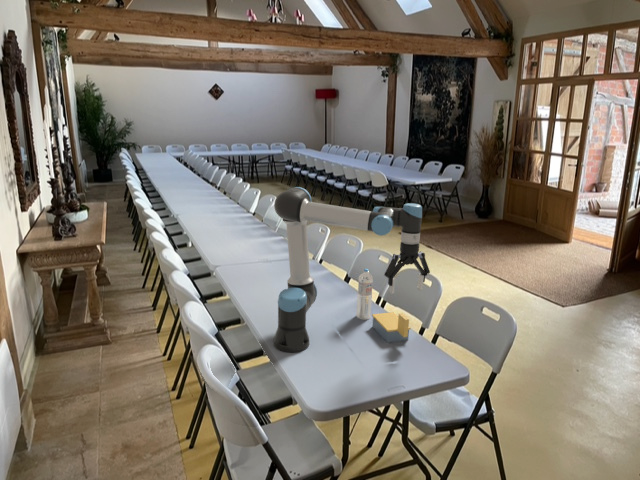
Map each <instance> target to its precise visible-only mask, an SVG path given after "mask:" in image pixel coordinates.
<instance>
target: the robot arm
mask: <svg viewBox="0 0 640 480" xmlns="http://www.w3.org/2000/svg"><path fill="white" fill-rule="evenodd" d="M273 205H274V211H275V213H276V215H277V216H278V217H279V218H281V219H282V222H283V223H284V224H286V236H287V237H286V238H287V248H288V249H287V250H288V260H289V261H288V262H289V274H290V275H289V276H290V277H289V278H288V279H287V281H286V282H287V288H285V289H283V290H281V291H280V293H279V294H278V299H277V305H278V306H277V307H278V308H277V313H278V314H277V329H276V331H275V334H274V336H273V337H274V338H273V346H274V347H275V349H277V350H279V351H281V352H286V353H298V352H302V351H304V350H306V349H308V347H309V346H310V336H309V334H308V330H307V326H306V325H307V323H306V322H307V312H308V311H309V309H310V308H311V307H312V305H313V304H314V303H315V301H316V299H317V296H318V289H317V286H316V284H315V281H314V278H313V276H311V273H310V272H311V271H310V259H309V258H310V255H309V242H308V226H307V224H308V222H311V223H312V222H314V223H318V224H325V225H330V226H337V227H343V228H348V229H349V228H350V229H355V230H360V231H361V230H362V231H366V232H372V233H374V234H376V235H377V236H386V235H388V234H389V233H390V232H391V231H392V229H393V228H394V227H395V228H396V227H397V228H401V234H400V246H399V248H400V249H399V251H400V253H399V254H396V253H393V254H392V258H391V260H390V262H389V263H388V267H387V268H386V270H385V272H384V275H383V276H384V277H385V278H388V281H387V284H388V287H389V288H388V289H389V290H388V293H390V294H391V295H394V294H395V286H396V285H395V284H396V278H395V277H396V275H397V274H398V273H399V272H400V270H401V269H402V268H403V267H404V266H408V265H414V266H415V268H416V269H417V270H418V272H419V274H418V276H417V277H418V278H417V279H418V281H417V290H419V291H423V289H424V288H423V287H424V283H425V281H426V277H427V276H428V275H429V274H430V273H431V270H430V268H429V265H428V262H427V260H426V254H425V253H424V252H423V251H420V240H421V239H420V238H421V229H422V221H423V206H422V205H421V204H418V203H411V202H410V203H405V204H403V207H399V208H398V207H388V206H374V208H373V210H372V211H370V210H365V209H359V208H352V207H346V206H339V205H333V204H328V203H327V204H326V203H321V202H315V201H314V202H313V201H312V197H311V194H310V193H309V191H308V190H307V189H305V188H304V187H301V186H294V187H290V188H288V189H287V190H285V191H282V192H281V193H279V194H278V195H277V196H276V197H275V200H274V203H273ZM418 258H419V260H420V263H421V264H420V263H419V261H418Z"/></svg>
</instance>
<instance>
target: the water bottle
mask: <svg viewBox="0 0 640 480" xmlns="http://www.w3.org/2000/svg"><path fill="white" fill-rule="evenodd" d="M357 280H358V288H357V299H356V318H357V319H358V320H362V321H367V320H369V319H371V316H372V301H373V299H372V298H373V282H374V278H373V276H372V274H371V273H370V272H369V269H368V268H364V272H363V273H361V274H360V275H358V279H357Z"/></svg>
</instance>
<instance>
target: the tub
mask: <svg viewBox="0 0 640 480" xmlns="http://www.w3.org/2000/svg"><path fill="white" fill-rule="evenodd" d="M372 328H373V329H374V330H375V331H376V333H378V335H380V337H382V338H383V340H384V341H385V342H386V343H389V344H390V343H395V342H404V341H409V333H410V330H408V337H403V336H402V335H401V334H400V333H399V332H398V331H393V332H387V331H386V330H385V329H384V328H383V327H382V326H381V325H380V324H379V323H378V322H377V321H376V319H375V318H374V317H373V316H372Z"/></svg>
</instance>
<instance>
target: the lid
mask: <svg viewBox="0 0 640 480" xmlns="http://www.w3.org/2000/svg"><path fill="white" fill-rule="evenodd" d="M371 316H372V318H373V317H374V318H375V319H376V321H377V322H378V323H379V324H380V325H381V326H382V327H383V328H384V329H385V330H386V331H387V332H393V331H398V332H399V333H400V334H401V335H402V336H403V337H408V338H409V336H408V330H409V331H410V330H411V329H412V328H411V326H409V324H410V318H408V317H407V316H406V315H405V314H404V313H403V312H402V313H398V315H397V314H396V313H395V312H394V311H392V312H383V313H371Z"/></svg>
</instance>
